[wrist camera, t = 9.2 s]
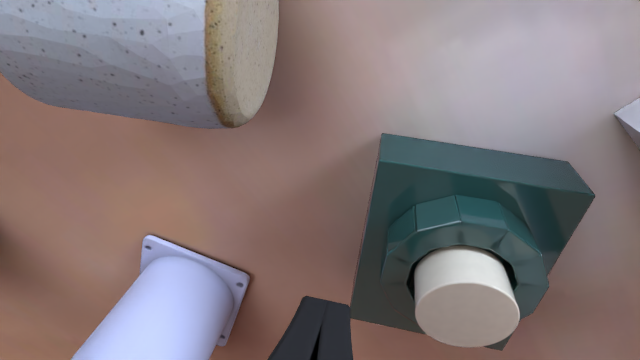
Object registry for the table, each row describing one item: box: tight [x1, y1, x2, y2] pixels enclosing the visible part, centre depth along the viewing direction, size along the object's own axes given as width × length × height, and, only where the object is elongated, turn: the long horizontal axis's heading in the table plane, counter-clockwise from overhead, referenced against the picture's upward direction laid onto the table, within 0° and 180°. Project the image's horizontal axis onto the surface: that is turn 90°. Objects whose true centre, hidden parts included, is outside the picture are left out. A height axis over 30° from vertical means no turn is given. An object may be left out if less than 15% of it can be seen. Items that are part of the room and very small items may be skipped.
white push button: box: [414, 245, 520, 348], centre depth 15 cm, size 4×4×2 cm
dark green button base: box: [350, 133, 595, 351], centre depth 19 cm, size 11×9×5 cm
